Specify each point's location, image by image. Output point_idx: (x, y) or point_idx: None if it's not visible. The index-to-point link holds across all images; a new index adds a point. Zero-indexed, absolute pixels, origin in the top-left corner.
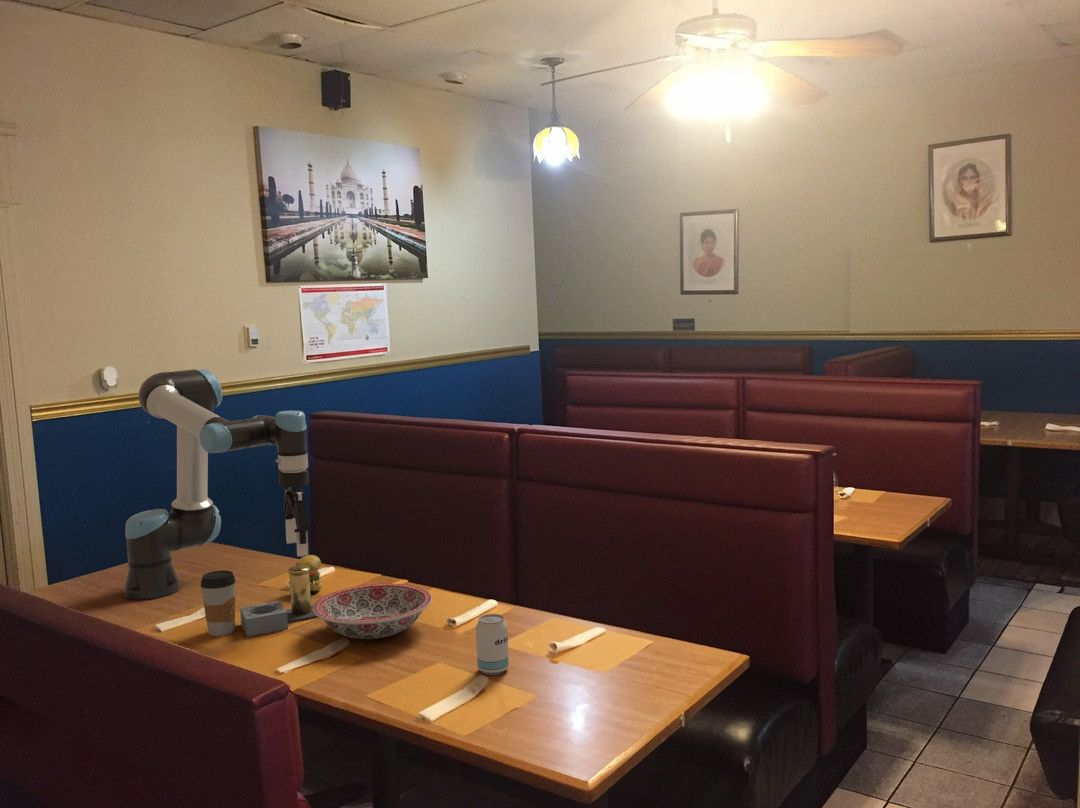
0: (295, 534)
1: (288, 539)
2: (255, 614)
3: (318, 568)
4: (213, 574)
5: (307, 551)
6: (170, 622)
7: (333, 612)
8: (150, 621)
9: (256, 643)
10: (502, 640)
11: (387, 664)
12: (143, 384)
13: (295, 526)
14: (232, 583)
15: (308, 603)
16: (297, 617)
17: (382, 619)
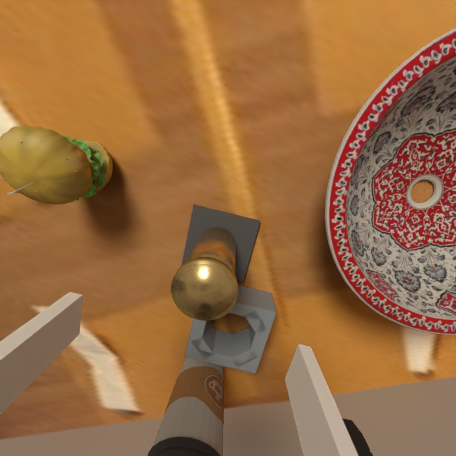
0: (51, 327)
1: (66, 342)
2: (243, 354)
3: (81, 152)
4: None
5: (315, 363)
6: (108, 393)
7: (358, 250)
8: (85, 407)
9: (292, 350)
10: None
11: None
12: None
13: (3, 364)
14: (216, 453)
15: (233, 244)
16: (239, 263)
17: None
